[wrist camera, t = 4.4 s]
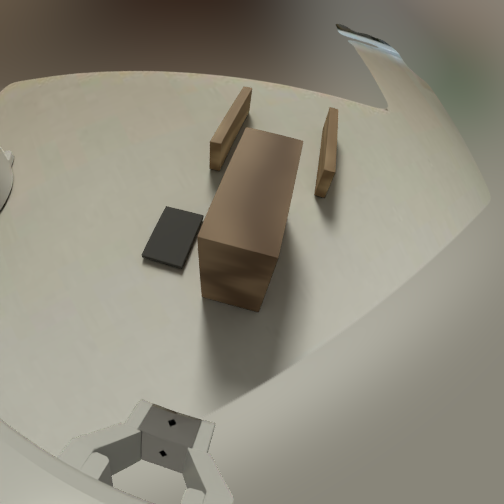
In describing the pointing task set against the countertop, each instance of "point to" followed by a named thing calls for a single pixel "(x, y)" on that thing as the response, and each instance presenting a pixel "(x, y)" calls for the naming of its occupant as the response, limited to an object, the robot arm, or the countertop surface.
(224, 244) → the walnut block
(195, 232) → the mat
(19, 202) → the countertop surface
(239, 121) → the channel
